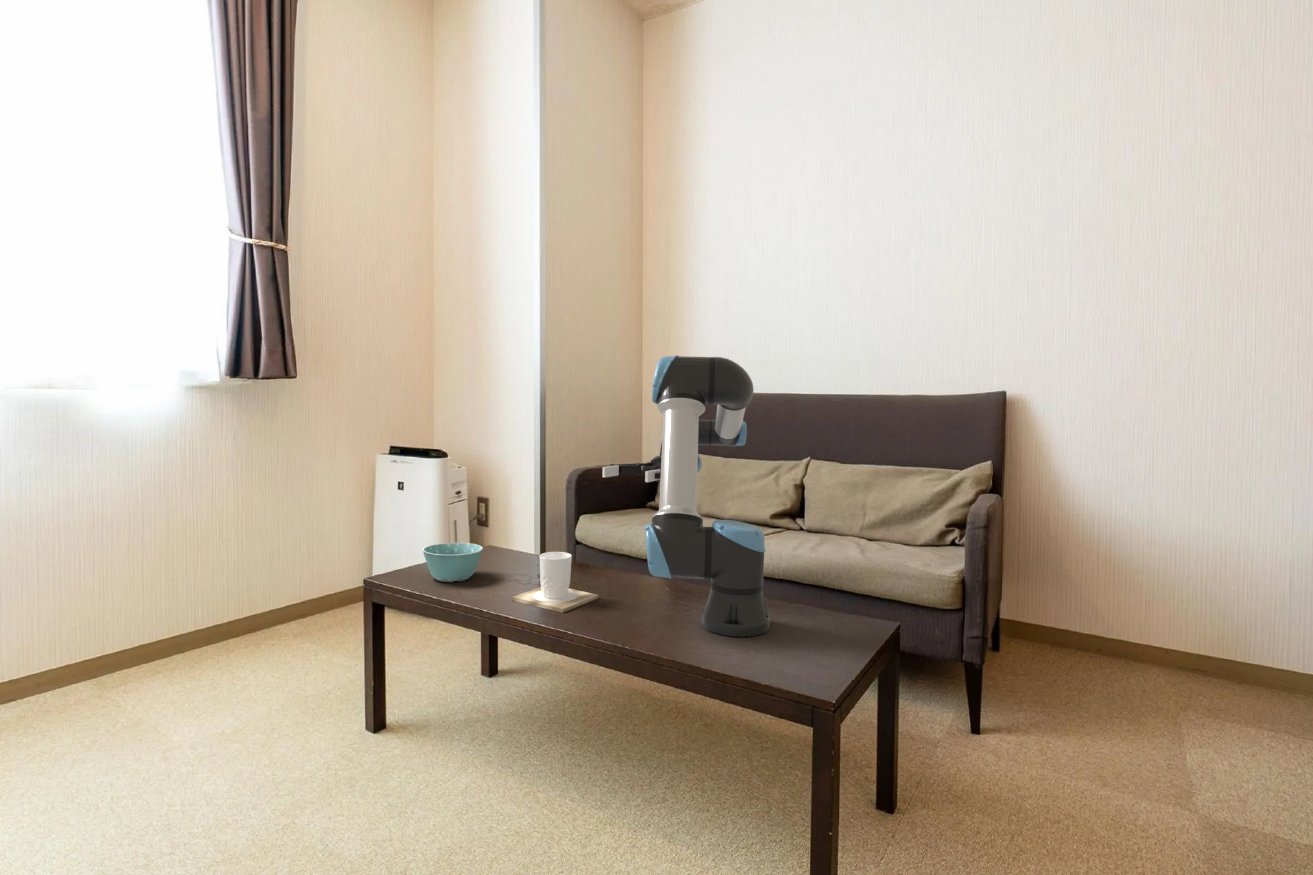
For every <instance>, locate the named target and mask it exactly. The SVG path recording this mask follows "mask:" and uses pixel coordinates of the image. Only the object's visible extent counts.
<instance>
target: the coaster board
mask: <svg viewBox="0 0 1313 875" xmlns="http://www.w3.org/2000/svg"><path fill="white" fill-rule="evenodd" d="M598 599H599V594H596V593H591V592H587V591H583V590H582V591H581V590H578V589H573V588H569V594H568V596H567V597H564V598H559V599H549V598H545V597H543V596H541V586H540V587H537V588H533V589H531V590H528V591H525V592H522V593H518V594H517V595H514V596H511V601H514V602H517V603H522V604H525V605H528V606H533V607H537V608H542V609H545V610H550V611H553V612H558V613H565V612H568V611H570V610H573V609H576V608H578V607H581V606H584V605H586V604H588V603H591V602H593V601H595V600H598Z"/></svg>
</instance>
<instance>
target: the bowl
mask: <svg viewBox="0 0 1313 875" xmlns="http://www.w3.org/2000/svg"><path fill="white" fill-rule="evenodd" d="M483 550H484V548H483V546H481V545H479V544H476V543H468V542H445V543H436V544H435V543H434V544H431V545H427V546H424V547H423V548H422V553H423V555H424V559H425V561H426V565H427V567H428V570H429V572H430V575H431V576H432V577H433V578H434V579H435V580H436V581H439V582H445V583H455V582H454V581H458V582H463V581H466V580H468V579H470V578H471V577H472V576H473V575H474V574H475V572H476V569H477V567H478V563H479V560H480V558H481V555H482V553H483ZM465 579H466V580H465Z"/></svg>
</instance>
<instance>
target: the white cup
mask: <svg viewBox="0 0 1313 875" xmlns="http://www.w3.org/2000/svg"><path fill="white" fill-rule="evenodd" d="M572 557H573V555H572V554H571V553H568V552H565V551H548V552H544V553H541V554H539V577H540V578H539V579H540V580H539V581H540V582H539V583H540V587H541V596H543V597H545V598H549V599H559V598H564V597H567V596H568V594H569V589H570V588H569V587H570V584H571V572H572V559H573V558H572Z"/></svg>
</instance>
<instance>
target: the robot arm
mask: <svg viewBox="0 0 1313 875" xmlns="http://www.w3.org/2000/svg"><path fill="white" fill-rule="evenodd" d="M653 374H654V375H653V381H652V390H651V400H652V401H651V402H652V403H653V404H656V405H657V410H658V412H659V413H660V414H661V415H662V419H663V420H662V438H661V454H660V455H656V456H654V457H653V458H652V459H651V460H650V462H649V461H648V462H647V461H646V462H643V463H642V462H635V463H615V464H613V463H612V464H611V463H610V465H609V466H603V467H602V478H611V477H613V478H617V477H618V476H619V475H637V476H639V477H643V476H644V477H645V478H644V482H645V483H651V482H655V481H656V482H658V483H660V484H659V485H660V486H659V505H658V511H656V513H654V514H653V515H652V518H651V523H648V524H646V525H645V526H644V529H645V545H646V546H645V547H646V556H647V557H646V558H647V566H648V571H649V573H650V574H651V575H652V576H653V577H656V578H666V579H667V578H668V579H669V580H670V579H674V578H675V579H693V580H694V579H695V580H696V579H697V580H710V591H709V594H708V598H707V599H706V600H707V601H706V604H705V607H704V609H703V612H702V614H701V616H702V617H701V626H702V627H703V628H704V629H706V630H707V631H709V632H712V633H714V634H718V635H721V636H727V637H736V638H737V636H739V638H742V637H744V638H745V636H748V637H756V636H759V635H758V634H760V635H763V634H765V633H767V632H768V631H769V630H770V625H771V624H770V623H771V618H770V617H771V616H770V615H769V612H768V607H767V604H766V600H765V596H764V573H765V572H764V569H765V568H764V567H765V566H764V565H765V564H764V563H765V553H766V547H765V534H764V531H762V529H761V528H759V527H757V526H755V525H753V524H751V523H748V522H747V523H746V522H743V521H738V520H731V519H715V520H714V521H713V522H712V524H711V526H705V525H704V524H703V523H704V519H703V517H702V516H701V515H700V514H699V513H698V511H697V509H698V508H697V500H698V498H697V497H698V473H699V472H700V471H701V468H702V465H703V464H702V463H703V462H702V459H701V457H700V455H699V446H721V447H722V446H724V447H725V446H727V447H736V446H737V447H739V446H740V447H741V446H745V444H746V443H747V434H748V433H747V432H748V431H747V426H748V425H747V423H746V421H744V416H745V413H746V409H747V407H748V406H749V405H750V404H751V402H752V399H753V395H754V383H753V380H752V379H751V376H750V375H749V373H748V372H747V370H746V369H744V368H743V367H742V366H741V365H740V364H738V363H737V362H735V361H733V360H731V359H729V358H725V357H721V356H713V357H712V356H685V355H684V356H679V355H678V354H677V355H672V356H669V355H668V356H662V357H660V358H659V359H658V361H657V364H656V366H655V371H654V373H653ZM706 405H711V406H712V405H716V407H717V408H716V414H715V419H702V418H700V416H702V415H703V414H704V413H705V412H706ZM699 418H700V419H699ZM768 629H769V630H768ZM766 631H767V632H766ZM762 633H763V634H762ZM755 635H756V636H755Z"/></svg>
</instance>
